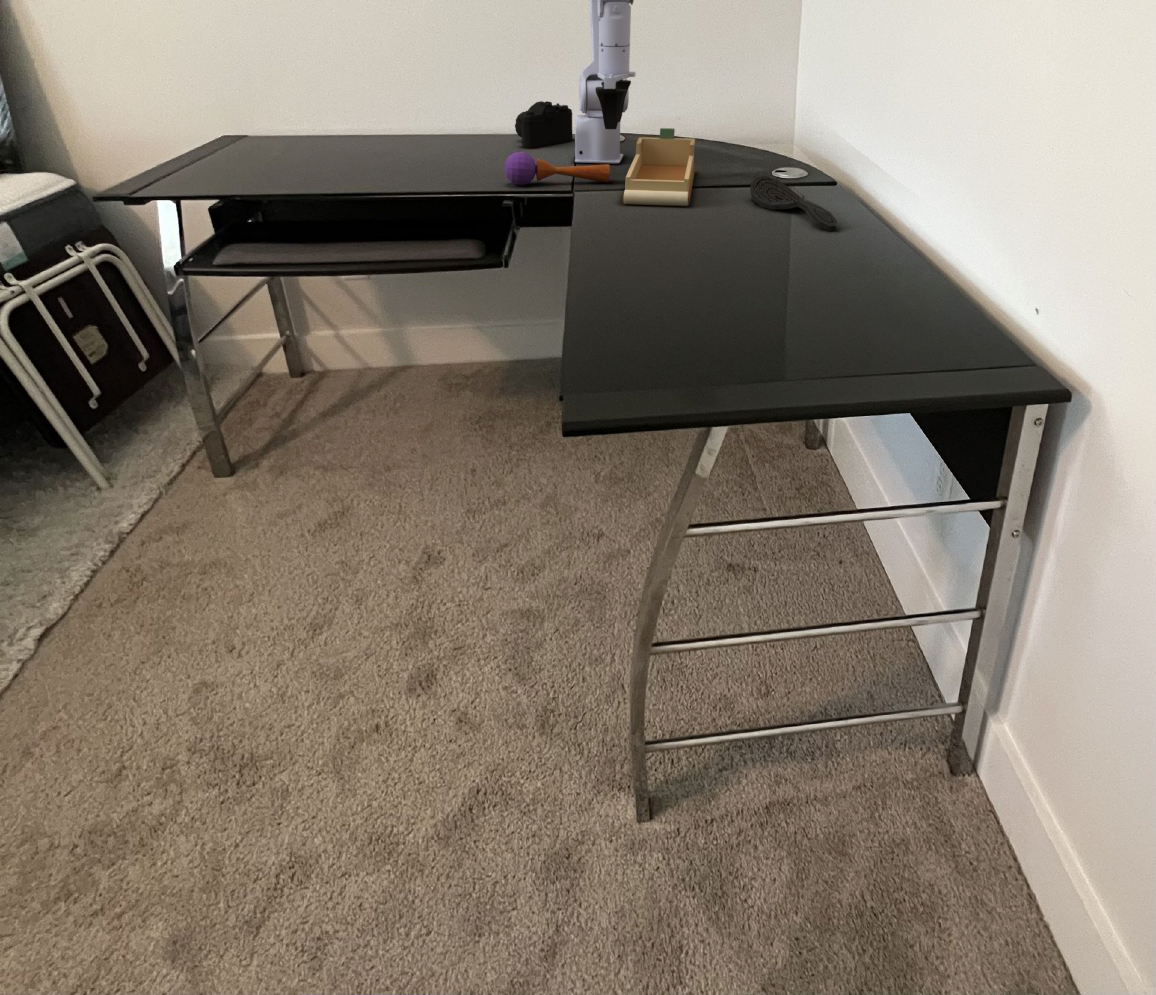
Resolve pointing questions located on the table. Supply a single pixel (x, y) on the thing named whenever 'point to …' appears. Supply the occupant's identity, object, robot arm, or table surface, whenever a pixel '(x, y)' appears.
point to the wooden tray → (661, 171)
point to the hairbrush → (788, 200)
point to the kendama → (549, 170)
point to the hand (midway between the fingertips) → (613, 125)
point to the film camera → (544, 125)
